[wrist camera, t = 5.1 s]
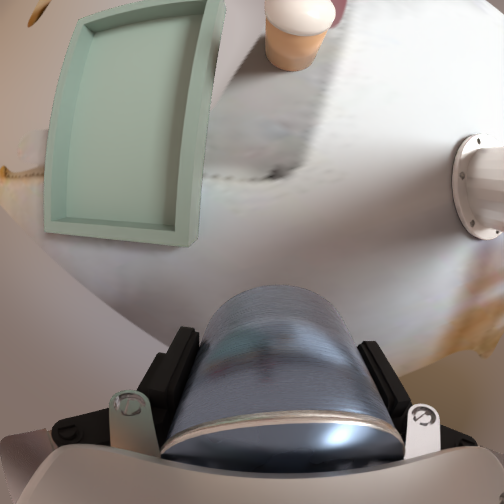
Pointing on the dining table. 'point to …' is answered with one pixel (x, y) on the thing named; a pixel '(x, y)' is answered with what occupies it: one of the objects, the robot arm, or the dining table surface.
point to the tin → (280, 392)
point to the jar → (296, 31)
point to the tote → (133, 123)
